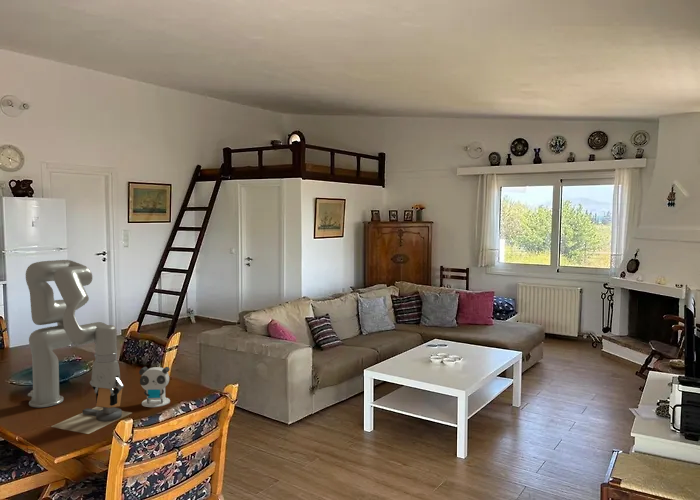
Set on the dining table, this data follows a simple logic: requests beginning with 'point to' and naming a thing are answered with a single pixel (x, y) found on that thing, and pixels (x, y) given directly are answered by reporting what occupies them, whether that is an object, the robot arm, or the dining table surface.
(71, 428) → the board
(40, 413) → the dining table surface
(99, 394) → the tan wooden cube
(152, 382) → the panda figurine
